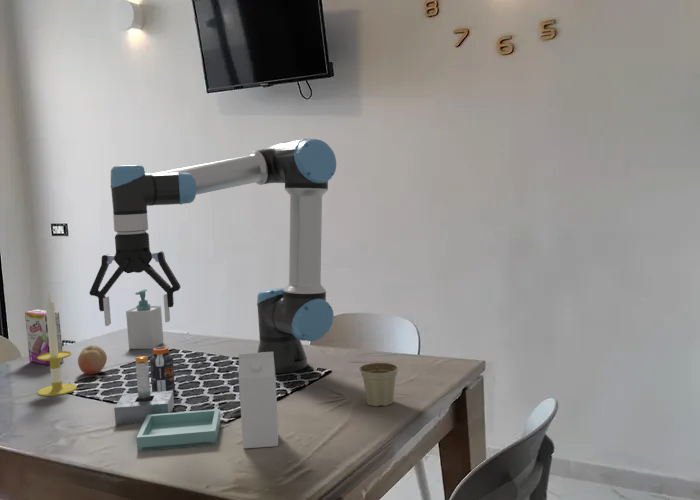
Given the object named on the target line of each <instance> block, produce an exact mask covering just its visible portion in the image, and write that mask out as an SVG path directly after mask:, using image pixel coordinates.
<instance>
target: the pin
mask: <svg viewBox="0 0 700 500" xmlns="http://www.w3.org/2000/svg"><path fill="white" fill-rule="evenodd" d="M135 371H136V374H135V375H136V383H137V385H136V386H137V393H138V399H139V402H144V401H151V394H150V392H151V382H150V371H149V357H148V356H146V355H143V356H142V355H141V356H137V357H135Z"/></svg>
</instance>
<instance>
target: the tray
mask: <svg viewBox="0 0 700 500" xmlns="http://www.w3.org/2000/svg"><path fill="white" fill-rule="evenodd" d="M220 412H221V411H220V408H216V409H203V410H191V411H179V412H172V413H164V414H152V415H147V417H146V419H145V421H144V422H142V425H141V427H140V429H139V431H138V433H137V436H136V449H137V452H147V451H149V452H150V451H159V450H169V449H170V450H171V449H173V450H174V449H182V448H184V449H185V448H193V447H194V448H195V447H206V446H217V443H218V437H219V433H220V432H219V431H220V425H221V413H220Z"/></svg>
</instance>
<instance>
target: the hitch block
mask: <svg viewBox="0 0 700 500" xmlns="http://www.w3.org/2000/svg"><path fill="white" fill-rule="evenodd" d="M150 394H151V401H144V402H139V399H138V392H137V393H126V394H121V397H120V398H119V400H118V401H117V403H116V404H115V406H114V407H113V410H114V421H115V425H117V426H118V425H129V424H139V423H141V424H143V423H144V421H145V419H146V417H147V415H152V414H164V413H173V412H174V411H173V410H174V409H173V408H175V399H174V398H175V397H174V390H170V391H162V392H155V391H153V392H151V391H150Z"/></svg>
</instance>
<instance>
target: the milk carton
mask: <svg viewBox="0 0 700 500" xmlns="http://www.w3.org/2000/svg"><path fill="white" fill-rule="evenodd" d="M276 383H277V381H276V374H275V364H274V354H273V352H261V353H257V352H248V353H245V352H244V353H239V354H238V387H239V388H238V389H239V402H240V418H241V420H240V422H241V433H242V435H241V437H242V447H243V449H253V448H255V449H256V448H267V447H268V448H269V447H278V446H279V433H280V432H279V417H278V415H279V413H278V402H277V401H278V398H277V397H278V396H277V384H276Z"/></svg>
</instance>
